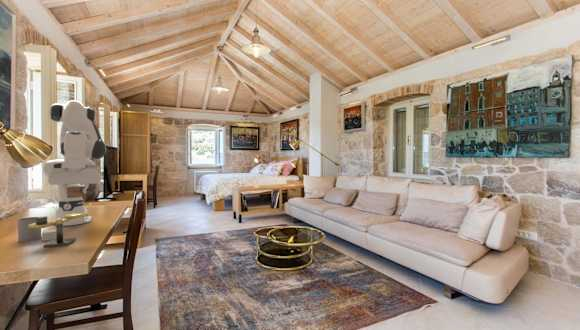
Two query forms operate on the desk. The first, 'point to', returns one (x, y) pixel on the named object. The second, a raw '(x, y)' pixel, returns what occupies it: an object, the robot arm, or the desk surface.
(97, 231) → the desk surface
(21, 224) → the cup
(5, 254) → the desk surface
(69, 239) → the balance
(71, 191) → the walnut block
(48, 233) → the grey stone block
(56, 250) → the desk surface
